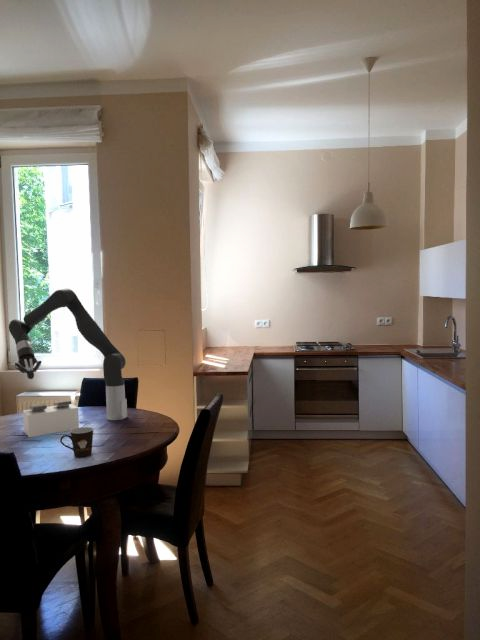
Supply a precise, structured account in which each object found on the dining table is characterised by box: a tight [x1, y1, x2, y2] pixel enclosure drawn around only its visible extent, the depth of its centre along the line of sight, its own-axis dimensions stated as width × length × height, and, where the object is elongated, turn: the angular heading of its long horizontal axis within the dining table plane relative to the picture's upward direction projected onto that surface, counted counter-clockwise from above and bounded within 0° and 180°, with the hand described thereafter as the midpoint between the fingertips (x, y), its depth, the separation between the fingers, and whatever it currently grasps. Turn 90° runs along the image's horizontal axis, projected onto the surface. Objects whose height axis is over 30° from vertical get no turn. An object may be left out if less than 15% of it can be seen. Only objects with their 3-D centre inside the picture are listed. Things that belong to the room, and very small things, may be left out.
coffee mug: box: [59, 426, 94, 459], centre depth 185 cm, size 12×9×10 cm
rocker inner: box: [53, 400, 72, 406], centre depth 225 cm, size 6×8×2 cm
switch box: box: [22, 403, 80, 438], centre depth 223 cm, size 22×12×11 cm, turn 125°
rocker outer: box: [28, 403, 48, 410], centre depth 219 cm, size 6×8×2 cm
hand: (31, 378), depth 231 cm, fingers closed
